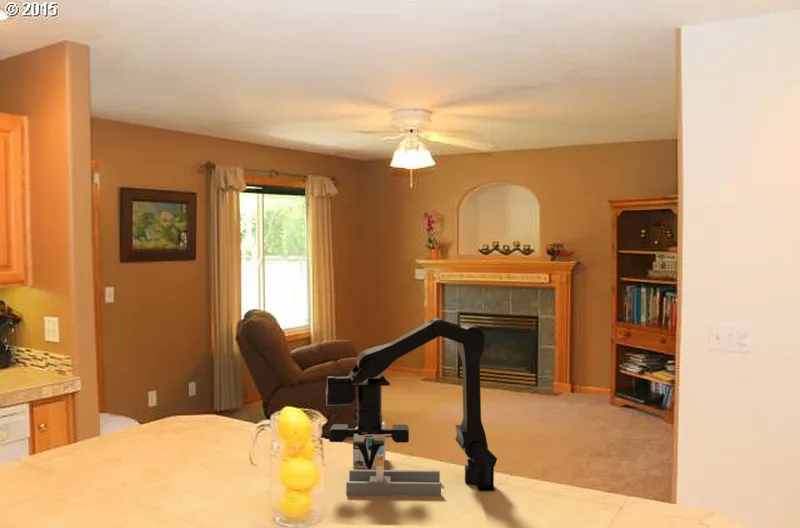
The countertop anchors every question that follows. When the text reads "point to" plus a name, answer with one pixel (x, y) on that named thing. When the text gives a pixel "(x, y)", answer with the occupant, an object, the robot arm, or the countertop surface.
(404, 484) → the housing
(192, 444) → the countertop surface
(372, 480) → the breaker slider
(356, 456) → the light bulb box
